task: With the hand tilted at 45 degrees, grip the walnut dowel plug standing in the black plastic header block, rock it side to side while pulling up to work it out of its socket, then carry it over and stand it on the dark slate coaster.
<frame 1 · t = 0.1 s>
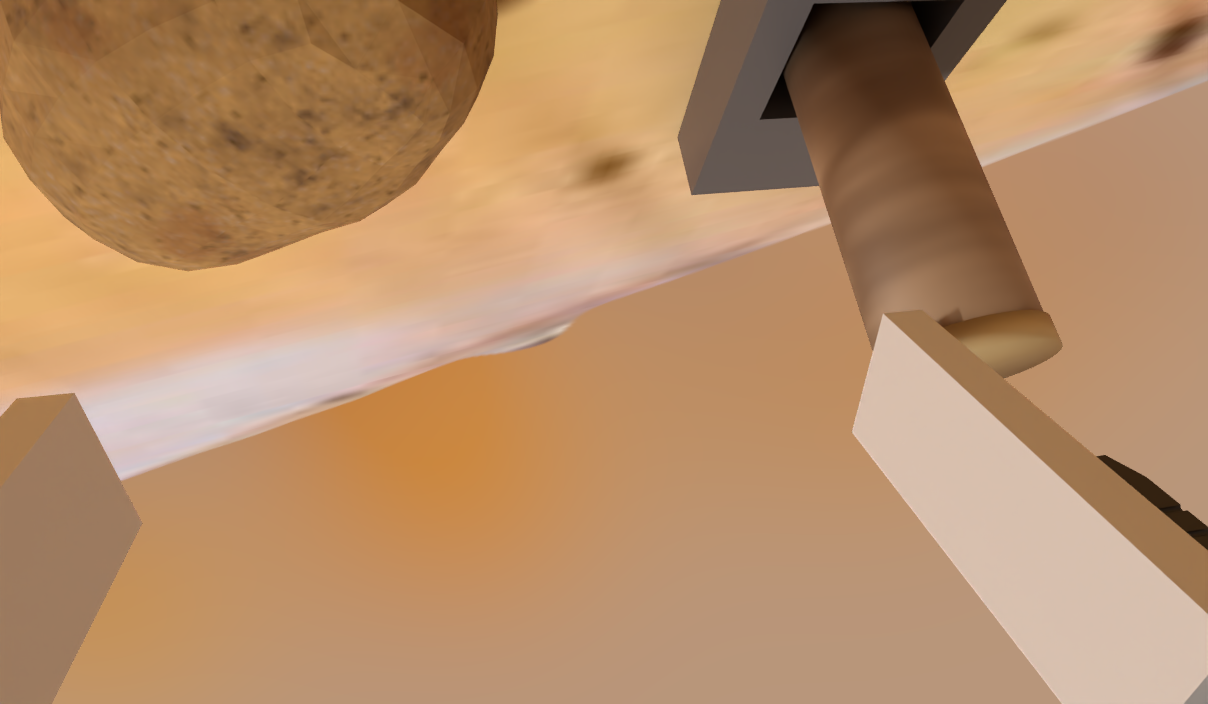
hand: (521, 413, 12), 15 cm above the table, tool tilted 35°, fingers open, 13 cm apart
plug: (890, 163, 21), in the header
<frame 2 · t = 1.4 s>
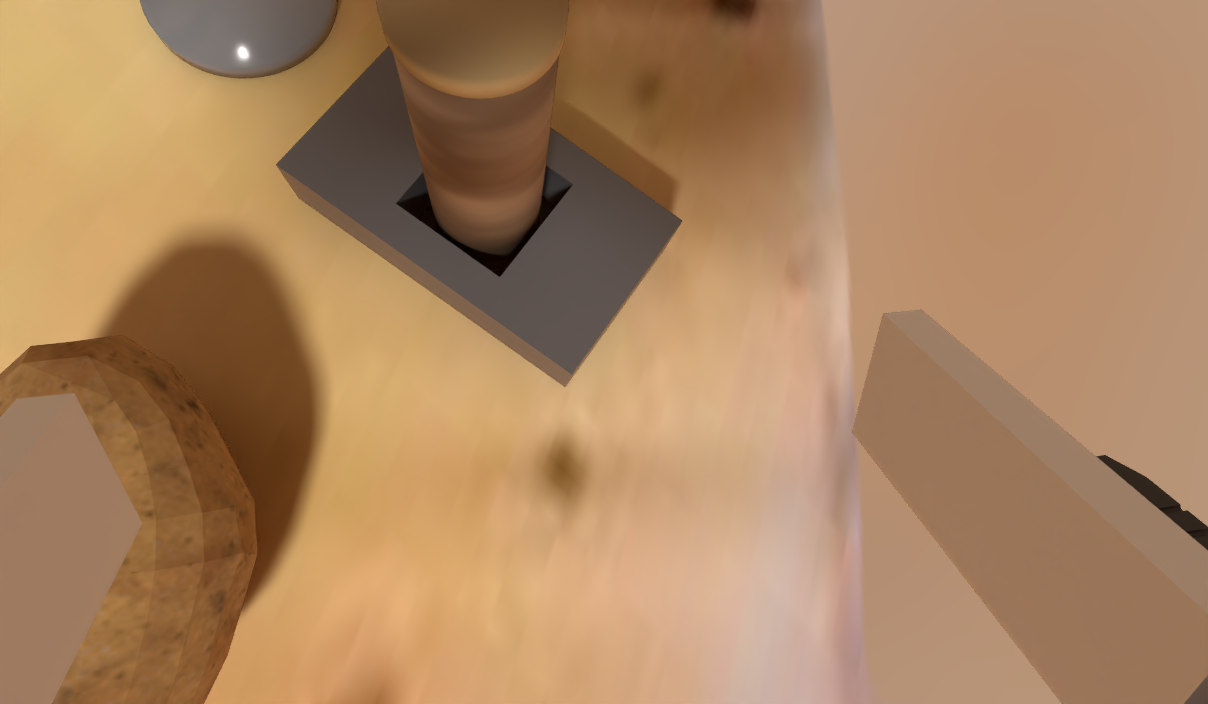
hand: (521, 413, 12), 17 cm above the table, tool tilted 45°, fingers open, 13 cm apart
plug: (483, 142, 23), in the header
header: (488, 223, 30), on the table
potato: (159, 546, 26), on the table
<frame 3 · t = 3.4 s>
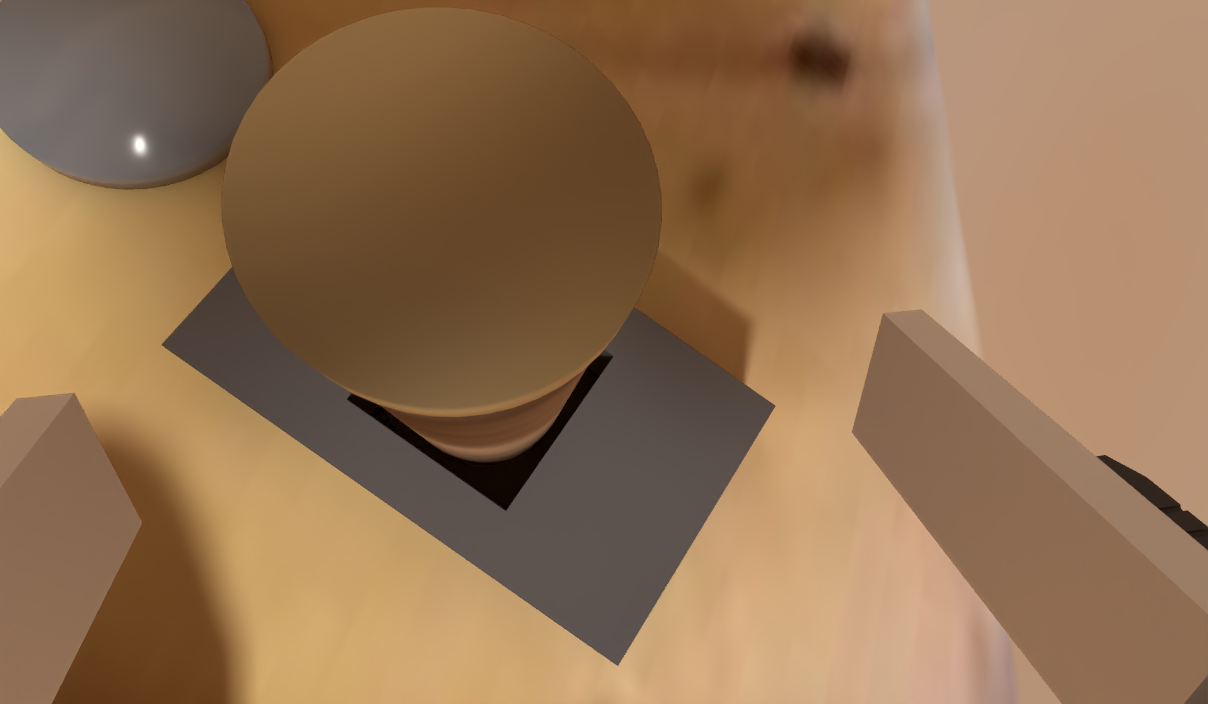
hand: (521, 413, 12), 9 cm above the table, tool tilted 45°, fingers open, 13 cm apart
plug: (478, 342, 14), in the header
coaster: (139, 72, 22), on the table
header: (487, 394, 21), on the table
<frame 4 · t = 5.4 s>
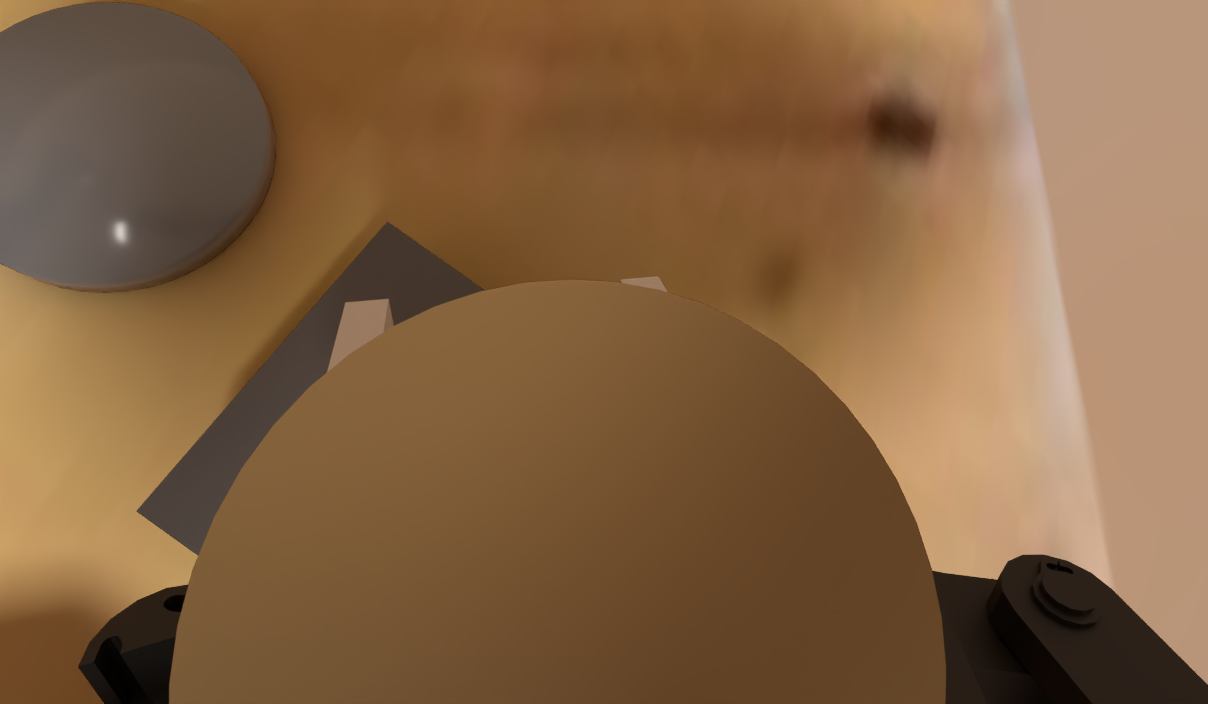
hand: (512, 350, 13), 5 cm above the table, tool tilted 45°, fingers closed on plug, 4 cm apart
plug: (537, 555, 11), in the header, touching gripper
coaster: (119, 151, 18), on the table
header: (527, 535, 18), on the table
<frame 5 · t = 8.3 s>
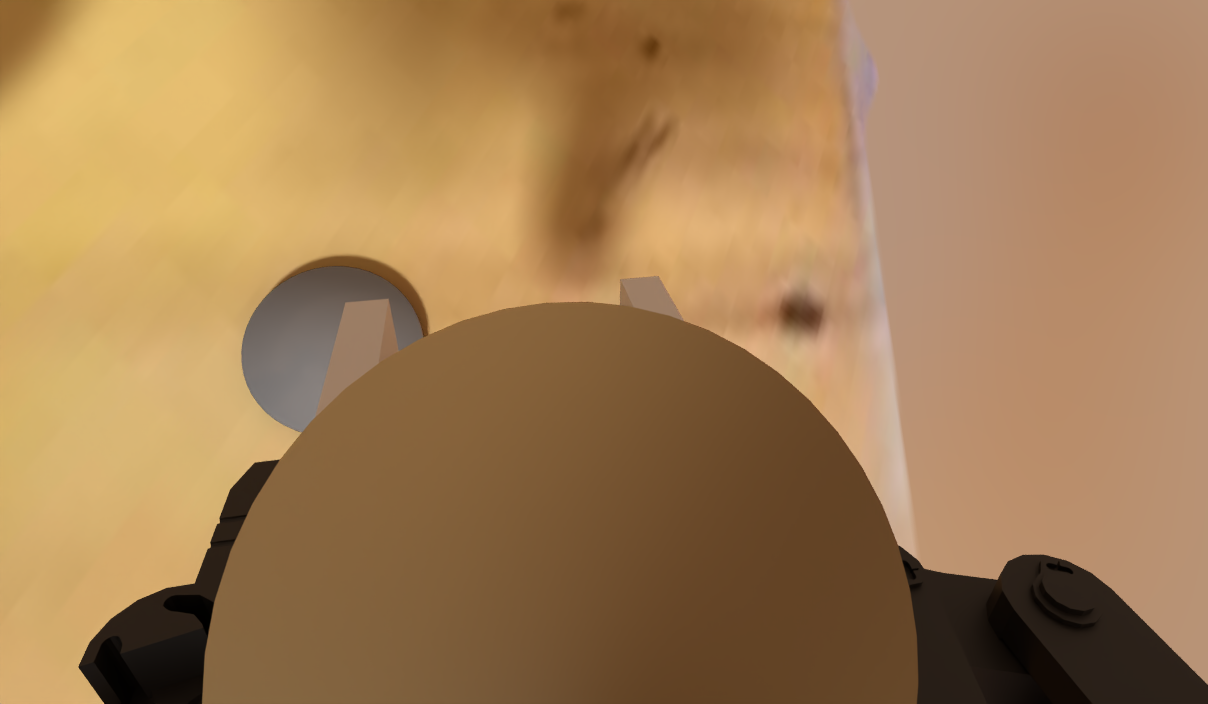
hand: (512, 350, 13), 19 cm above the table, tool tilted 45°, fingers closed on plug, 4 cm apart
plug: (538, 557, 11), point 21 cm above the table, touching gripper
coaster: (338, 352, 32), on the table
when the fingers open (8 cm above the table, at t = 11.4 s): plug drops 1 cm, resting on coaster.
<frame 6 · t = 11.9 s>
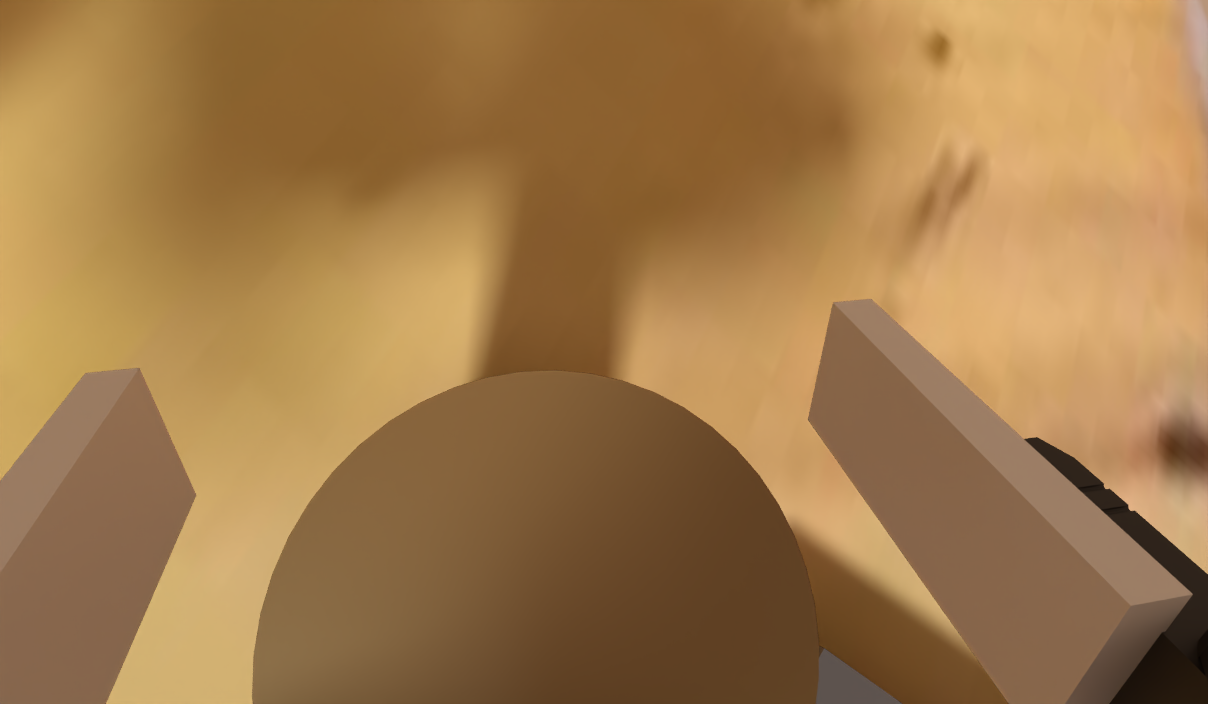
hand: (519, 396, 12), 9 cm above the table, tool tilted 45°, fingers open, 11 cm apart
plug: (530, 559, 12), on the coaster, point 8 cm above the table
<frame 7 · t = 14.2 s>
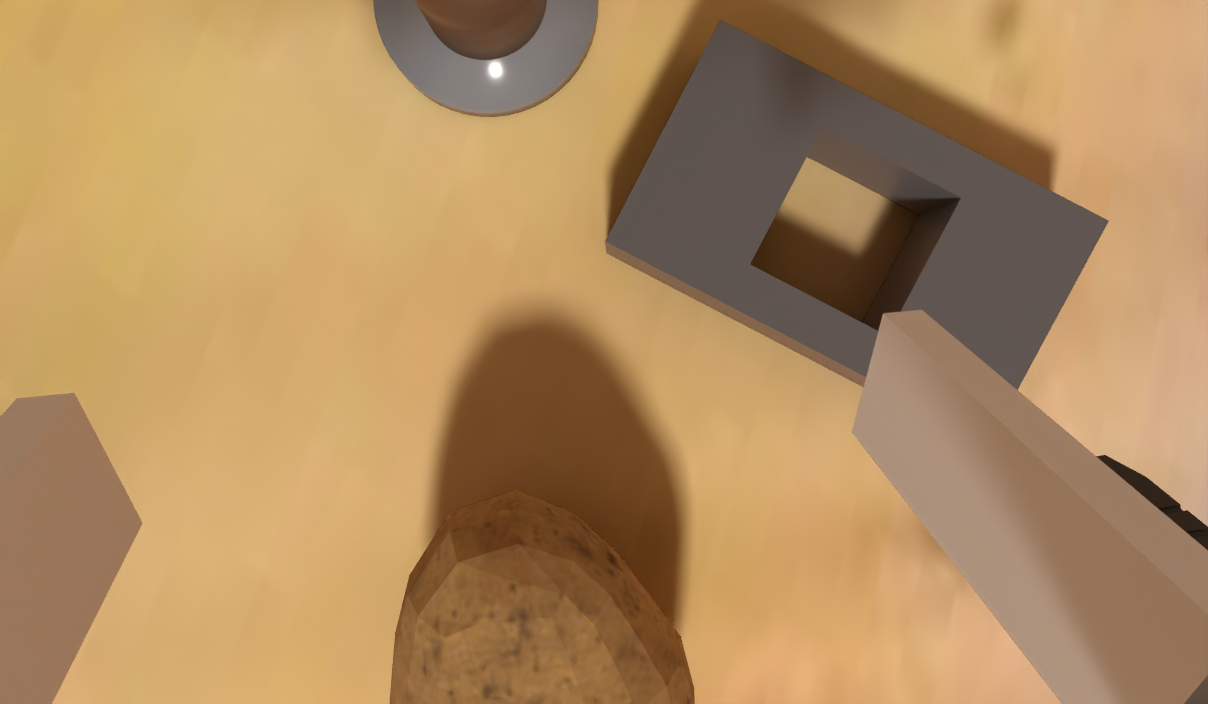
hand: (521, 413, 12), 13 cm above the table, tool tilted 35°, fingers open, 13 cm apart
coaster: (489, 7, 25), on the table
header: (826, 244, 25), on the table
potato: (552, 645, 26), on the table
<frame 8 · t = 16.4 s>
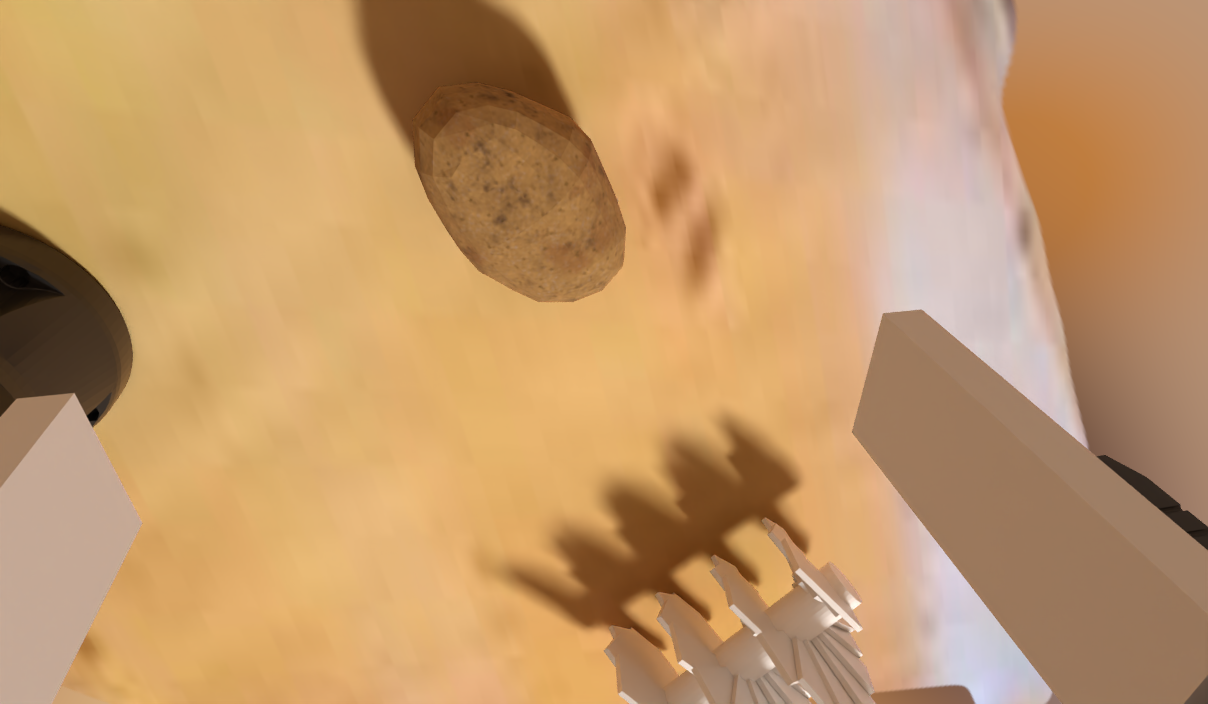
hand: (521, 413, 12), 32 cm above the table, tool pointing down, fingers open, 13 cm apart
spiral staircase: (704, 585, 68), on the table
potato: (514, 169, 42), on the table
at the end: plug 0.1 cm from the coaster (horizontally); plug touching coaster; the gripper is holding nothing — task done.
